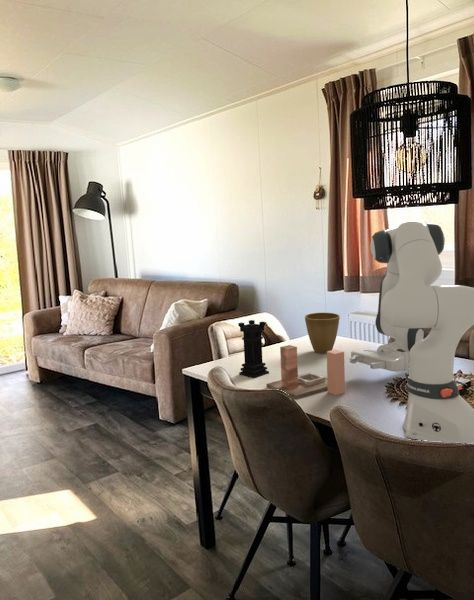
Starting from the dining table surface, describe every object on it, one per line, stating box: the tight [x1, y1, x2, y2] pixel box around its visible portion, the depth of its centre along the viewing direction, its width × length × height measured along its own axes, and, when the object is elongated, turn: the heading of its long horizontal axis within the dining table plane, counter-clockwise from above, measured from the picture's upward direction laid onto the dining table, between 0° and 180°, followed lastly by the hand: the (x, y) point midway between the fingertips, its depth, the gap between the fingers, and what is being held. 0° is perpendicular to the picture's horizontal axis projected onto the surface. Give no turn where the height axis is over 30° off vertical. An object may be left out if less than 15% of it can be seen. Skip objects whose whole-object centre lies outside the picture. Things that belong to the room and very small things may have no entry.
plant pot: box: [304, 312, 341, 355], centre depth 225 cm, size 15×15×16 cm
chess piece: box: [237, 319, 270, 379], centre depth 198 cm, size 8×8×20 cm
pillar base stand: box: [266, 344, 328, 400], centre depth 181 cm, size 16×20×15 cm
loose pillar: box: [326, 349, 346, 396], centre depth 173 cm, size 4×4×14 cm
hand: (361, 363), depth 179 cm, fingers open, 8 cm apart
